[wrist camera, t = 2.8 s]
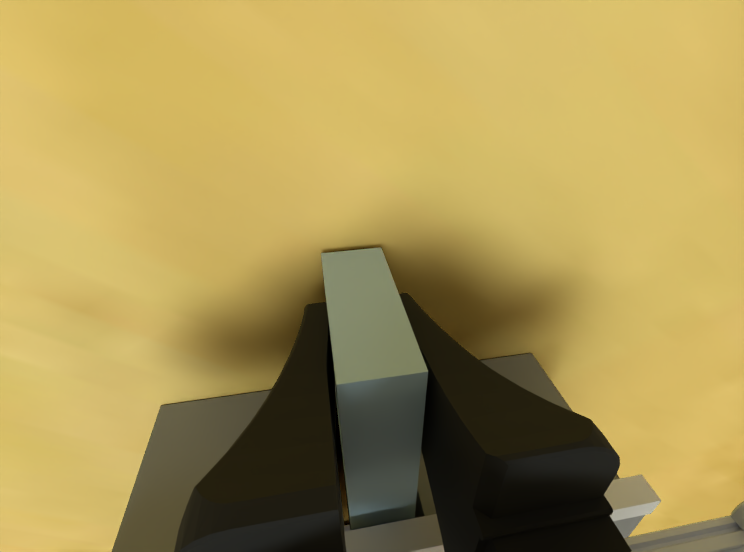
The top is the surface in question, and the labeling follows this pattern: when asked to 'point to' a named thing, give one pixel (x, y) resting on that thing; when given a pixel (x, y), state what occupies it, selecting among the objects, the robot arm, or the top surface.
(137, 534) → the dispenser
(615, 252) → the top surface
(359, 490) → the light blue rectangular block
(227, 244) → the top surface
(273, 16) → the top surface
